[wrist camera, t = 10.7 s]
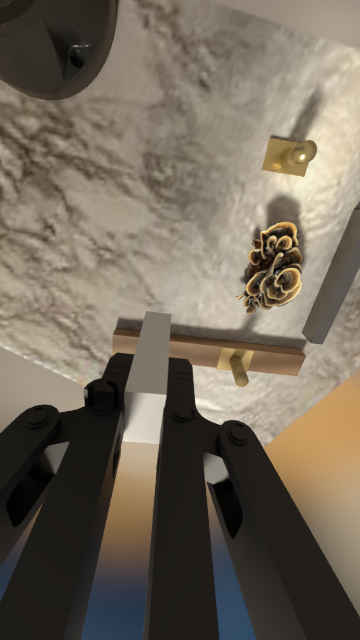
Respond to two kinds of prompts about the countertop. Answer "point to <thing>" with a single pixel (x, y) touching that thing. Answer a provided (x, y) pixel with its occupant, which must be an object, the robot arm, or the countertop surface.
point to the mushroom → (273, 268)
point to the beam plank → (222, 354)
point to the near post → (289, 156)
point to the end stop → (335, 283)
